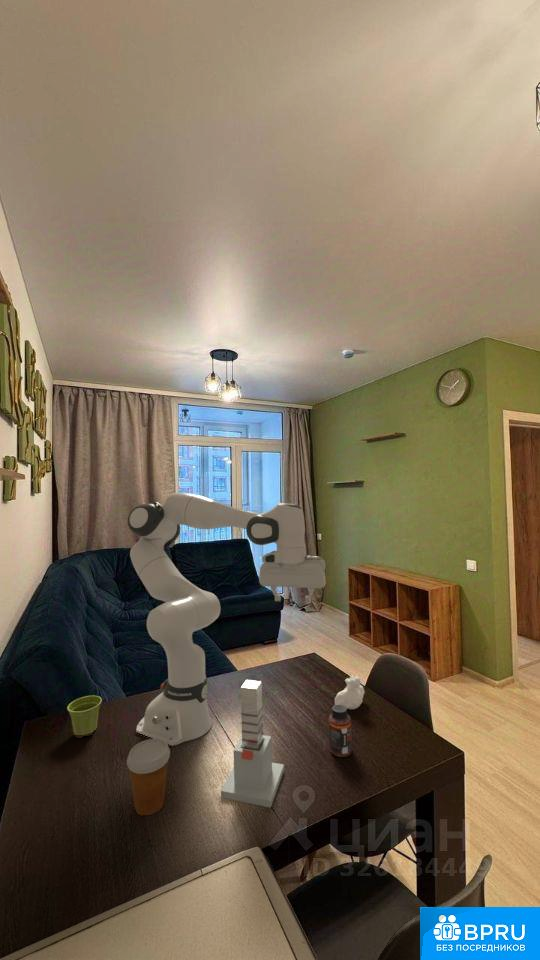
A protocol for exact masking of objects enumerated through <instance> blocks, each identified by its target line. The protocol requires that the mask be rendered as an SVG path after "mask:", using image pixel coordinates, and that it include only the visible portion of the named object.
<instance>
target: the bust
mask: <svg viewBox="0 0 540 960" xmlns="http://www.w3.org/2000/svg"><path fill="white" fill-rule="evenodd" d="M344 682H345V683H346V687H345V688H344V689H343V690H340V691H339V692H337V694H336V696H335V697H334V705H343V706H345V707H346V708H347V710H348V709H349V710H356V709H358V708H359V707H360V706H361V704H362V703H363V698H364V695H365V688H364V686H363V685H362V684H361V678H360V675H354V674H353V675H350V676H349V678H348V677H346V678H345V679H344Z"/></svg>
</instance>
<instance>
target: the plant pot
mask: <svg viewBox="0 0 540 960" xmlns="http://www.w3.org/2000/svg"><path fill="white" fill-rule="evenodd" d="M102 701H103V699H102V697H101V696H98V695H86V696H82V697H79V698H76V699H75V700H73V701H71V702H70V703H69V704H68V705H67V707H66V709H67V712H68V713H69V716H70V719H71V725H72V732H74V733H73V735H74V734H75V735H86V734H89V733H92V732H93V731H94V730H96V731H97V729H96V728H97V727H98V718H99V711H100V707H101V704H102Z"/></svg>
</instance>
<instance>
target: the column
mask: <svg viewBox="0 0 540 960" xmlns="http://www.w3.org/2000/svg"><path fill="white" fill-rule="evenodd" d="M262 683H263V682H262V680H254V679H246V680H245V681H244V682H243V684H242V685H241V686H240V705H241V706H240V707H241V709H240V710H241V711H240V715H241V737H242V748H244V749H250V750H256V751H259V750H260V748H261V746H262V744H263V735H264V720H263V715H264V714H263V685H262Z"/></svg>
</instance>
